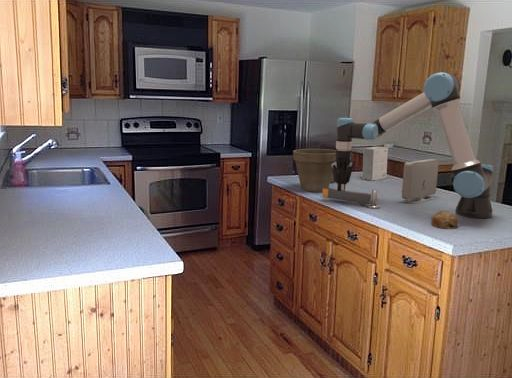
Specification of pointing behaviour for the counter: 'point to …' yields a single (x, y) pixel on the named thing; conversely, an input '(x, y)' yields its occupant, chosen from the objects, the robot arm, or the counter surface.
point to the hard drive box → (375, 163)
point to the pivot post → (374, 201)
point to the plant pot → (314, 168)
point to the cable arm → (346, 195)
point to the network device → (419, 180)
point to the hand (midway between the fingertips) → (340, 196)
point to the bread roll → (444, 220)
